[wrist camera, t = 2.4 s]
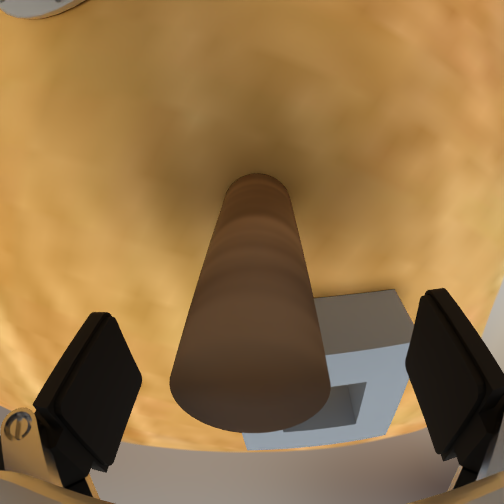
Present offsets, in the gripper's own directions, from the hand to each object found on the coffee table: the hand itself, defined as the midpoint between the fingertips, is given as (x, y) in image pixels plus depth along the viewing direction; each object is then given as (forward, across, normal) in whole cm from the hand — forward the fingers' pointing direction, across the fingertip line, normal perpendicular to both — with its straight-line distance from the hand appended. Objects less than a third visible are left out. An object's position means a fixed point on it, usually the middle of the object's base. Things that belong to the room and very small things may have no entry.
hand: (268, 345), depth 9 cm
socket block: (+10, -2, +11) cm, 15 cm away
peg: (+10, 0, -1) cm, 10 cm away
